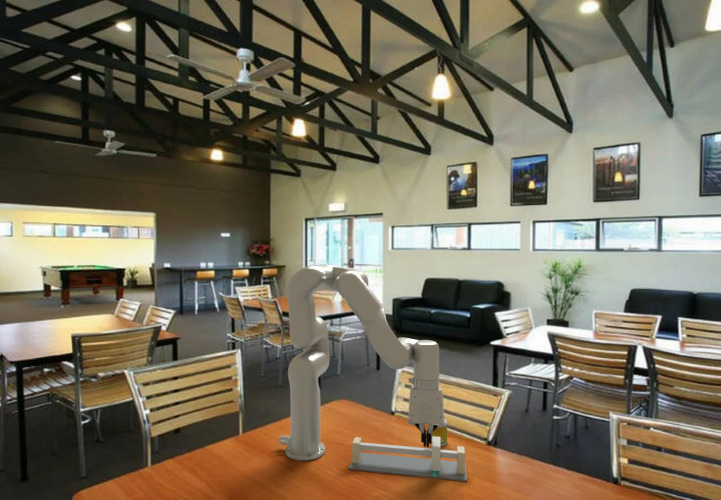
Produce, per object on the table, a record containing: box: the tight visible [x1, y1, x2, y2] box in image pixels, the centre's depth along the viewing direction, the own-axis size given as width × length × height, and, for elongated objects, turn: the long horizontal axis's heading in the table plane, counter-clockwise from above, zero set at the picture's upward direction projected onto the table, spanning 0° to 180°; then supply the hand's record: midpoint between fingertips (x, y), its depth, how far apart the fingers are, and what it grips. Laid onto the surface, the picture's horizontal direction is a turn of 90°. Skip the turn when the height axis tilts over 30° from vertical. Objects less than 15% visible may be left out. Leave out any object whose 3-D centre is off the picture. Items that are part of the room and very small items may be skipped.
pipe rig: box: [348, 436, 468, 482], centre depth 125 cm, size 34×10×6 cm, turn 79°
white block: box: [431, 436, 441, 471], centre depth 124 cm, size 2×7×7 cm, turn 169°
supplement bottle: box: [432, 413, 448, 447], centre depth 141 cm, size 5×5×10 cm
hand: (426, 444), depth 124 cm, fingers closed
